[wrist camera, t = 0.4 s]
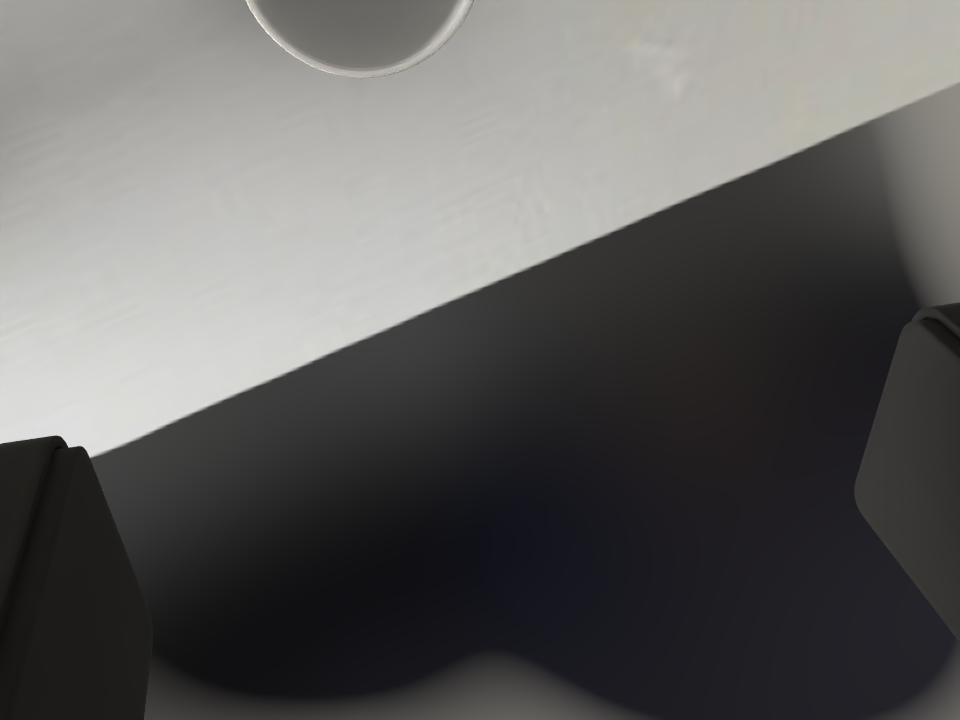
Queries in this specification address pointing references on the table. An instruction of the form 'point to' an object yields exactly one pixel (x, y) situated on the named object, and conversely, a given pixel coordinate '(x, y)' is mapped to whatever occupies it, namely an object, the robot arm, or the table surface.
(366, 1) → the mug
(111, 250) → the table surface
